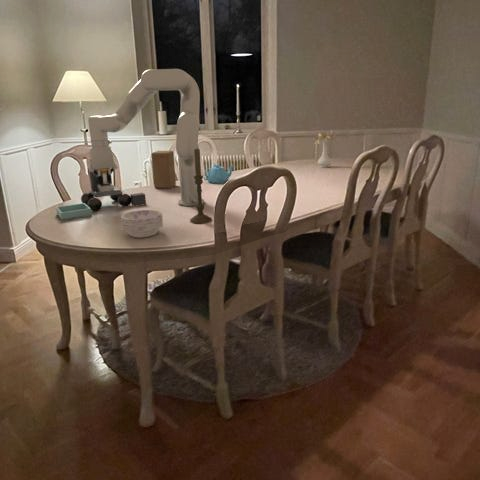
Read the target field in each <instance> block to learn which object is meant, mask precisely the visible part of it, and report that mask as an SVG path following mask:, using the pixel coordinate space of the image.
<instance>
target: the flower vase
mask: <svg viewBox="0 0 480 480" xmlns="http://www.w3.org/2000/svg"><path fill="white" fill-rule="evenodd" d="M334 132H335V131H334V130H332V129H330V133H329V131H328V130H325V131H324V129H321V130H320V132H319V133H318V135H317V134H316V133H314V136H312V137H311V139H312V140H314V142H313V144H314V145H316V144H318V145H320V140H322V153H321V156H320V157H319V159H318V160H317V164H318V165H319V168H323V169H325V168H330V165H331V164H332V160H331V158H330V157H329V155H328V143H329V141H330V142H332V141H333V142H334V143H335V142H336V140H337V137H338V135H337V134H335V133H334Z"/></svg>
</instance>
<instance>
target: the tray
mask: <svg viewBox="0 0 480 480" xmlns="http://www.w3.org/2000/svg"><path fill="white" fill-rule="evenodd" d="M55 210H56V215H57V217H58V218H59V219H60V220H61V221H70V220H76V219H83V218H88V217H92V216H93V215H92V210H91V208H90V207H88V205H86V204H85V203H76V204H70V205H62V206H55Z"/></svg>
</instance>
